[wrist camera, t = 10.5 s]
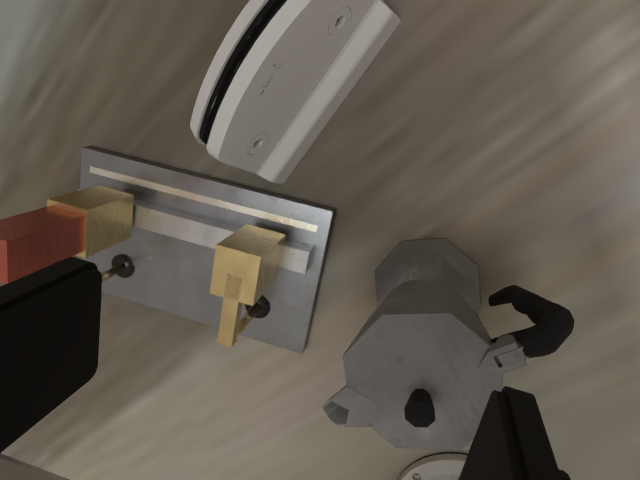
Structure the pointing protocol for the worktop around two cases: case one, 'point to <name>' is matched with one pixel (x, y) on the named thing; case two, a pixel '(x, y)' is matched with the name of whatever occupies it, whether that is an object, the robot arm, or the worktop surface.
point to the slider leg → (65, 231)
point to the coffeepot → (436, 349)
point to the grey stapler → (285, 78)
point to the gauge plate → (214, 249)
